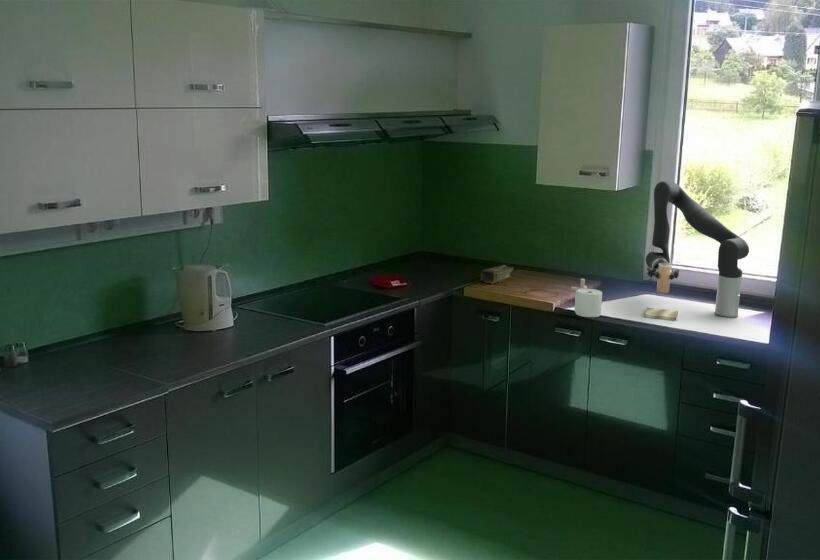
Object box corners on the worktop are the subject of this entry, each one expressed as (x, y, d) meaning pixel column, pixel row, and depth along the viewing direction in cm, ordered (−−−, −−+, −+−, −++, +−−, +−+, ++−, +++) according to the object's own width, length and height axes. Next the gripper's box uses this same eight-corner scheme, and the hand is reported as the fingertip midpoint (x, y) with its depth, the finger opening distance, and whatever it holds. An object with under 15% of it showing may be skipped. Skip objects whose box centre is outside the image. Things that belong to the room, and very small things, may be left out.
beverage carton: (514, 278, 413) (514, 266, 411) (492, 285, 398) (493, 272, 397) (501, 276, 418) (501, 263, 416) (479, 282, 403) (479, 270, 402)
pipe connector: (567, 301, 370) (568, 280, 368) (574, 296, 379) (575, 275, 376) (589, 304, 365) (590, 282, 363) (595, 299, 374) (596, 278, 372)
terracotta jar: (669, 290, 349) (672, 263, 346) (668, 293, 344) (671, 266, 341) (656, 289, 350) (659, 262, 348) (655, 292, 346) (658, 264, 343)
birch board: (677, 313, 352) (678, 310, 352) (676, 320, 342) (676, 317, 341) (646, 310, 357) (647, 307, 357) (644, 317, 346) (644, 314, 346)
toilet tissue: (598, 318, 343) (599, 295, 341) (570, 315, 347) (571, 292, 345) (602, 312, 352) (604, 290, 350) (575, 309, 357) (576, 287, 355)
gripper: (645, 258, 359) (648, 267, 343) (678, 260, 357) (683, 269, 340) (643, 275, 361) (646, 284, 345) (677, 277, 359) (681, 286, 342)
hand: (664, 277), depth 343 cm, fingers closed on terracotta jar, 5 cm apart
